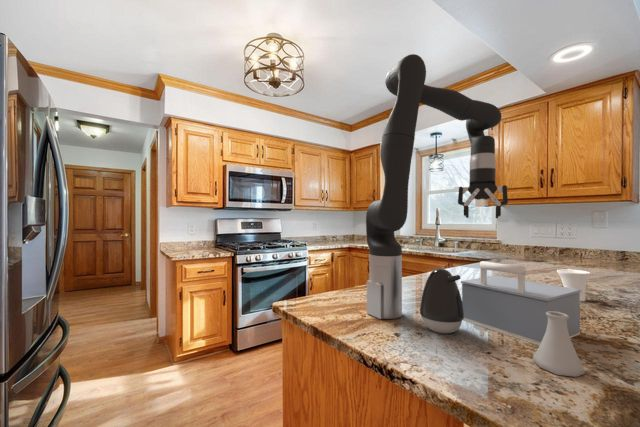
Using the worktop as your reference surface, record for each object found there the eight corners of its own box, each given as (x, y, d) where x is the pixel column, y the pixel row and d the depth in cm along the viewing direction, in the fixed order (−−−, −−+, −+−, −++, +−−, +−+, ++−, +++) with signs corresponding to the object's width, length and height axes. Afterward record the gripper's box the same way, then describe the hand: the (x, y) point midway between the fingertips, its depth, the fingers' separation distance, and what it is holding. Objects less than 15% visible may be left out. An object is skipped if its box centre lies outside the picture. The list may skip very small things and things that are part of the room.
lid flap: (547, 301, 63) (547, 270, 63) (460, 283, 81) (460, 259, 81) (580, 292, 71) (580, 264, 71) (495, 277, 89) (495, 255, 89)
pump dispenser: (445, 341, 66) (444, 273, 67) (411, 326, 76) (410, 267, 76) (474, 333, 71) (473, 270, 71) (438, 320, 80) (438, 264, 81)
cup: (587, 298, 103) (586, 269, 104) (594, 304, 96) (593, 273, 96) (555, 294, 108) (555, 267, 108) (559, 300, 100) (558, 270, 101)
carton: (547, 347, 63) (546, 301, 63) (462, 320, 80) (462, 284, 81) (580, 333, 71) (579, 293, 71) (496, 311, 88) (495, 278, 88)
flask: (524, 359, 58) (523, 308, 58) (558, 357, 59) (557, 307, 59) (557, 379, 51) (556, 321, 51) (595, 377, 51) (594, 319, 52)
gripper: (457, 168, 97) (456, 217, 97) (508, 165, 90) (508, 218, 90) (459, 171, 104) (458, 217, 103) (507, 169, 97) (506, 218, 96)
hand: (481, 217), depth 97 cm, fingers open, 8 cm apart
